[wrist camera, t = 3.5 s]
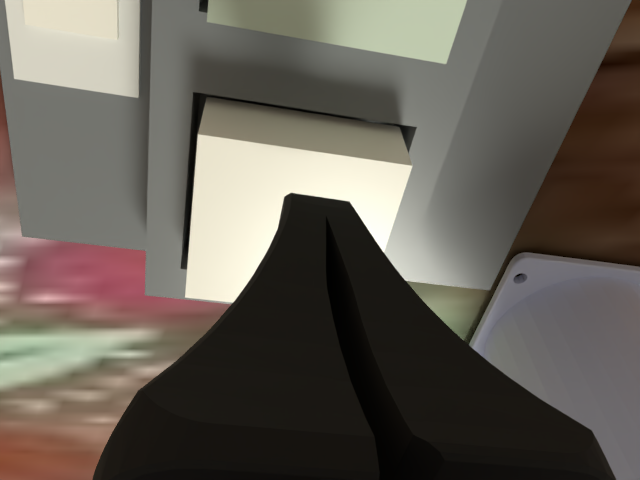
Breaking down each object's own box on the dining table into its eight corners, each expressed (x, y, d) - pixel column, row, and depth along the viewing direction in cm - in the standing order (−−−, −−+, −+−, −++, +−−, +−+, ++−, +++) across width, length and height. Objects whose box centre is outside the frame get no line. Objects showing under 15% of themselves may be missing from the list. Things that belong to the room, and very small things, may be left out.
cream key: (356, 270, 19) (363, 316, 17) (193, 251, 18) (184, 297, 16) (399, 127, 16) (412, 165, 14) (206, 96, 15) (197, 134, 13)
